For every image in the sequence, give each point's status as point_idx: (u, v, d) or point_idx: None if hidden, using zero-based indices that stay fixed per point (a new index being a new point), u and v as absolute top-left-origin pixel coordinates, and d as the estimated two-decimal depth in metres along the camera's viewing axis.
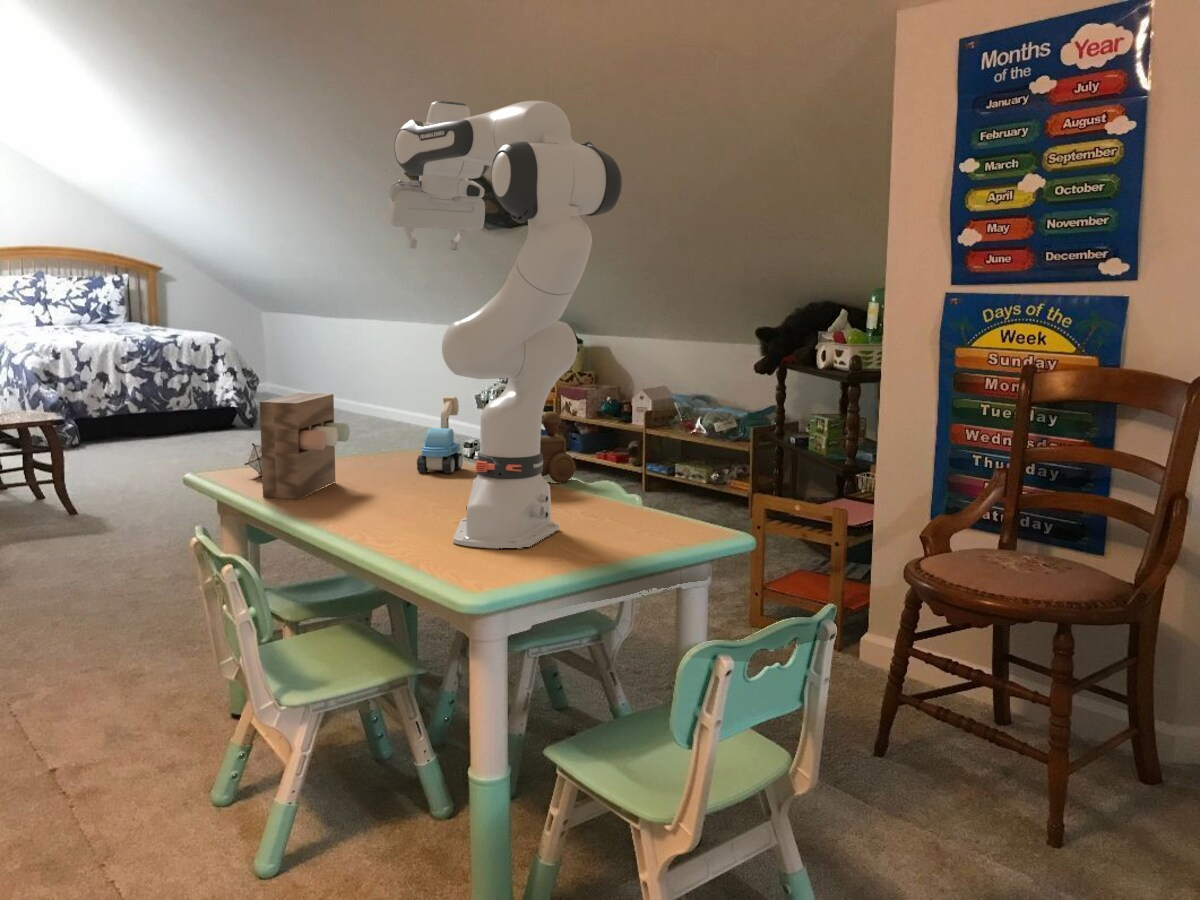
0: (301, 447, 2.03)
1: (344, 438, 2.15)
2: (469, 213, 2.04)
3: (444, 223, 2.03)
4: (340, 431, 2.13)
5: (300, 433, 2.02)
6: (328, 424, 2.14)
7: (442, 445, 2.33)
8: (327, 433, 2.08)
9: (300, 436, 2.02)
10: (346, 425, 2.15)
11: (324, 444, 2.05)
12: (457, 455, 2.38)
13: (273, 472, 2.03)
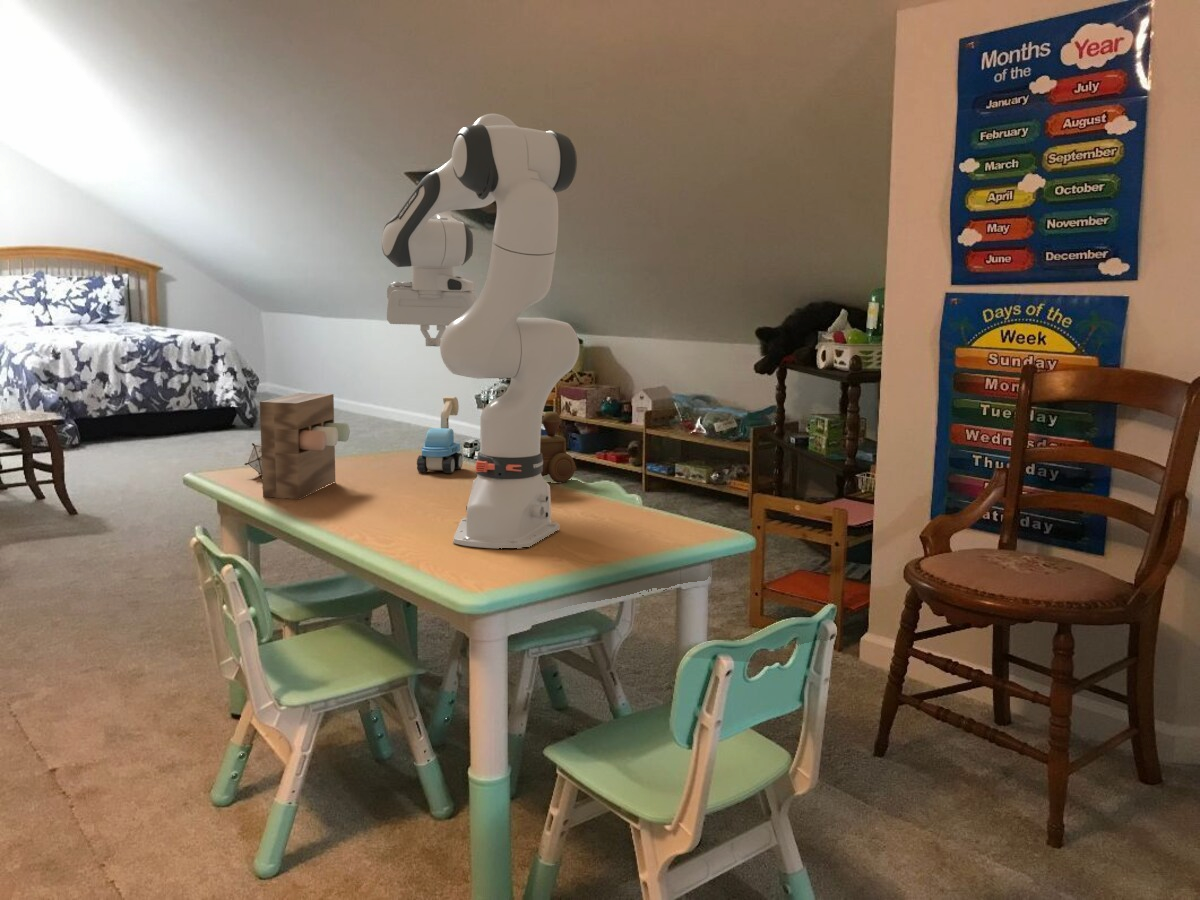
0: (301, 447, 2.03)
1: (344, 438, 2.15)
2: (458, 308, 2.11)
3: (435, 319, 2.12)
4: (340, 431, 2.13)
5: (300, 433, 2.02)
6: (328, 424, 2.14)
7: (442, 445, 2.33)
8: (327, 433, 2.08)
9: (300, 436, 2.02)
10: (346, 425, 2.15)
11: (324, 444, 2.05)
12: (457, 455, 2.38)
13: (273, 472, 2.03)
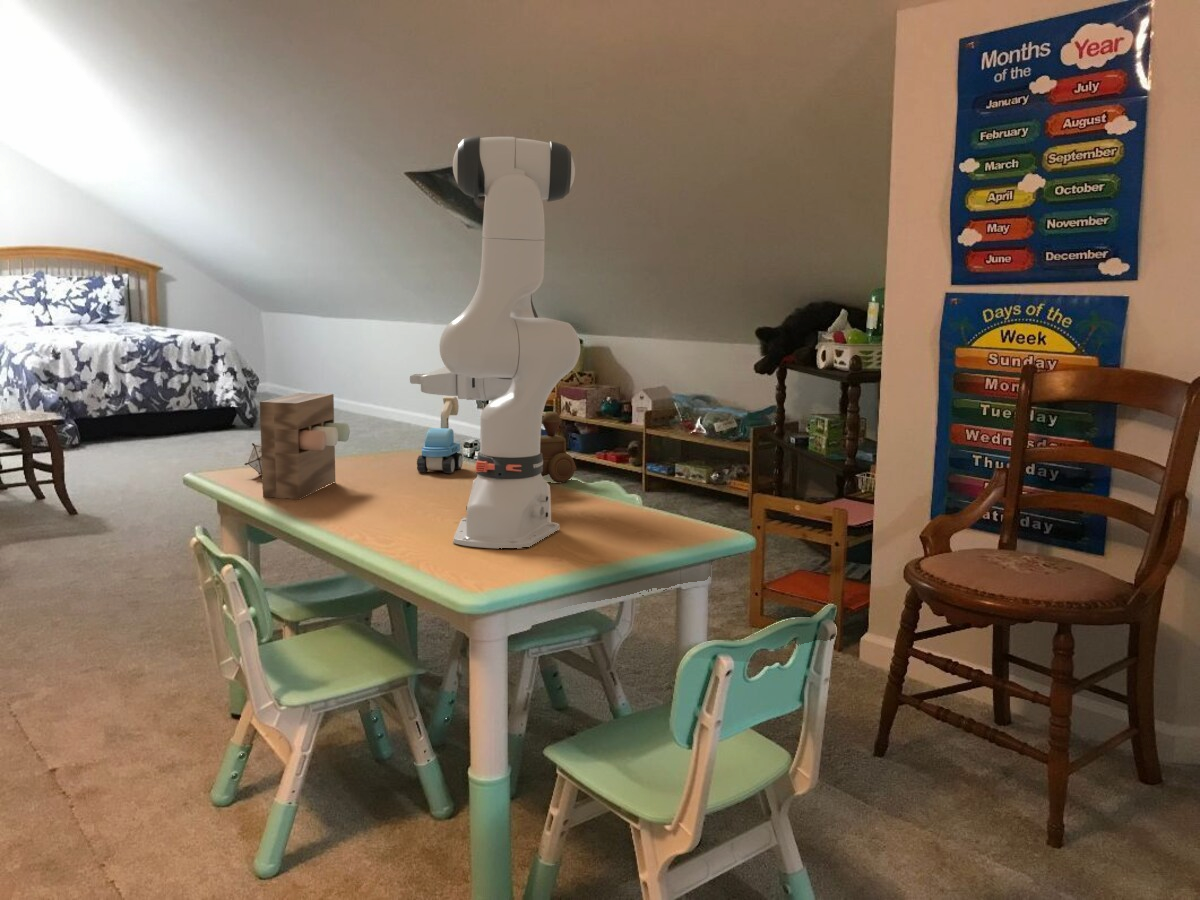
0: (301, 447, 2.03)
1: (344, 438, 2.15)
2: None
3: (437, 371, 2.10)
4: (340, 431, 2.13)
5: (300, 433, 2.02)
6: (328, 424, 2.14)
7: (442, 445, 2.33)
8: (327, 433, 2.08)
9: (300, 436, 2.02)
10: (346, 425, 2.15)
11: (324, 444, 2.05)
12: (457, 455, 2.38)
13: (273, 472, 2.03)
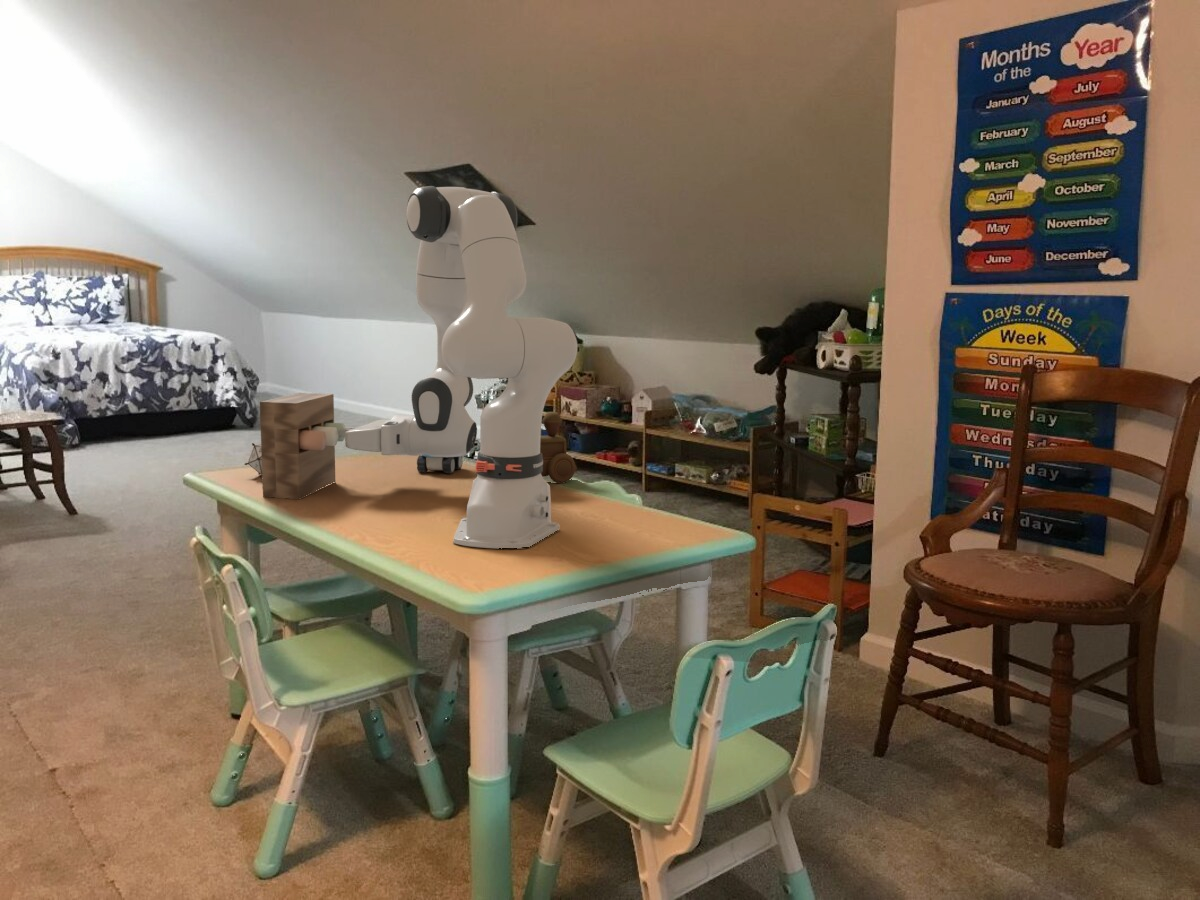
0: (301, 447, 2.03)
1: (340, 438, 2.15)
2: None
3: (366, 425, 2.13)
4: None
5: (300, 433, 2.02)
6: (324, 424, 2.15)
7: None
8: (327, 433, 2.08)
9: (300, 436, 2.02)
10: (342, 425, 2.15)
11: (324, 444, 2.05)
12: None
13: (273, 472, 2.03)
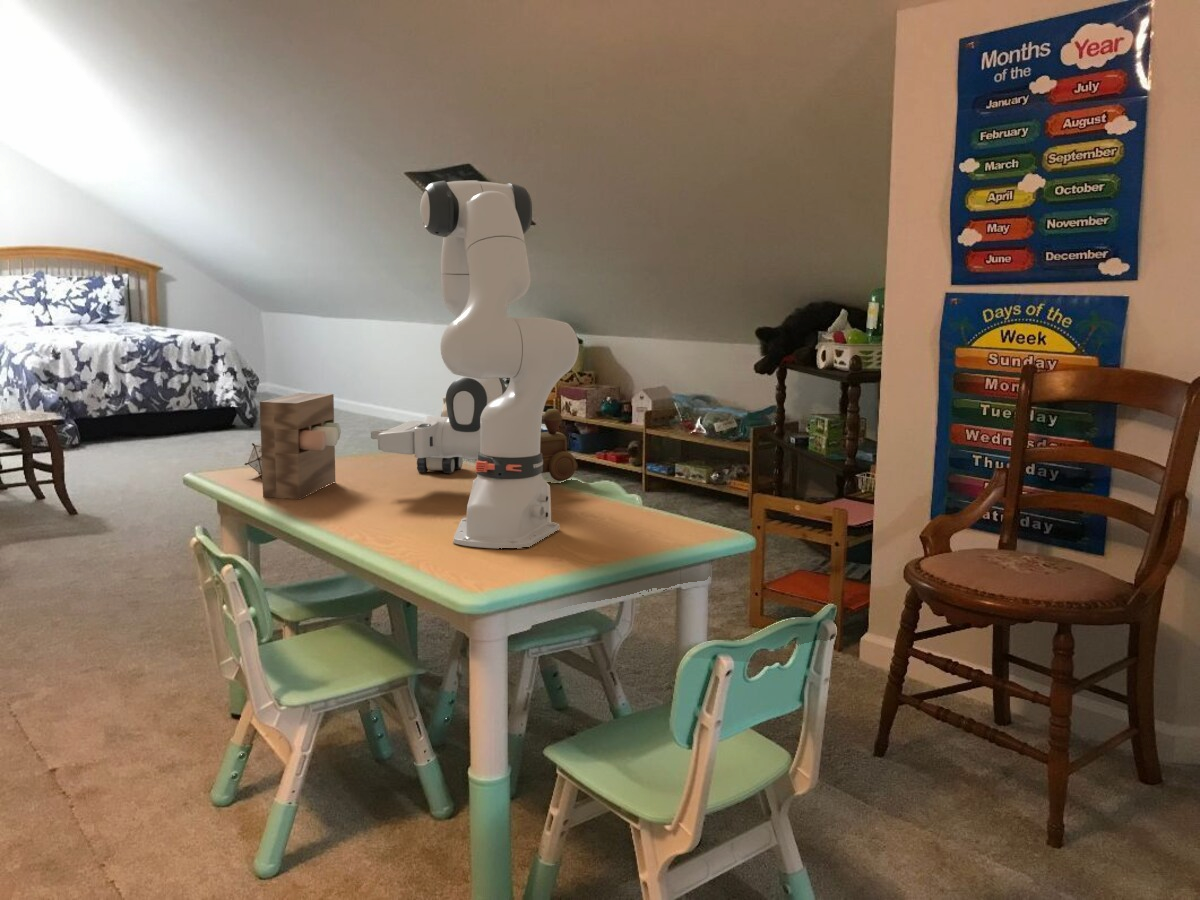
0: (301, 447, 2.03)
1: None
2: None
3: (397, 427, 2.10)
4: None
5: (300, 433, 2.02)
6: None
7: None
8: (327, 433, 2.08)
9: (300, 436, 2.02)
10: (337, 425, 2.15)
11: (324, 444, 2.05)
12: None
13: (273, 472, 2.03)
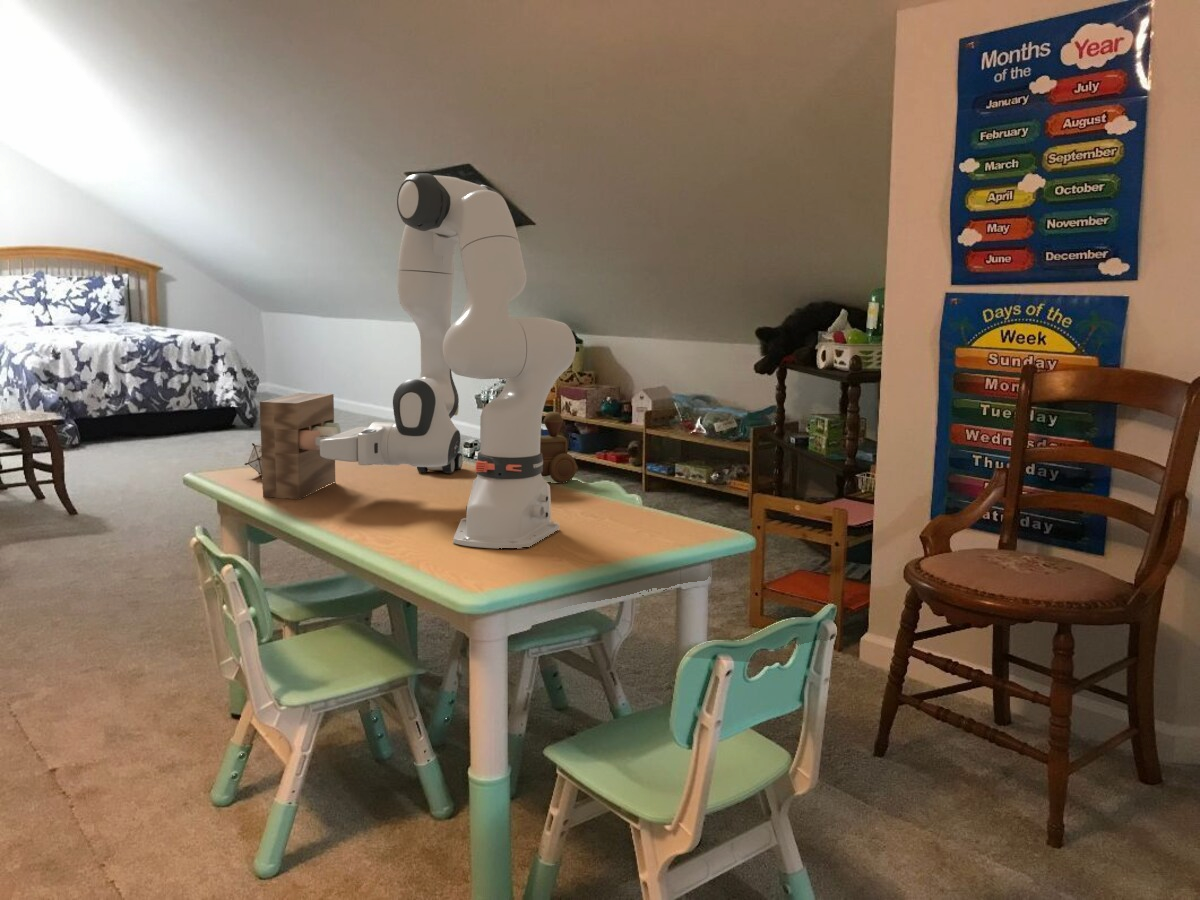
0: None
1: None
2: None
3: (342, 433, 2.01)
4: None
5: None
6: None
7: None
8: (327, 433, 2.08)
9: None
10: (337, 425, 2.15)
11: None
12: (457, 455, 2.38)
13: (273, 472, 2.03)
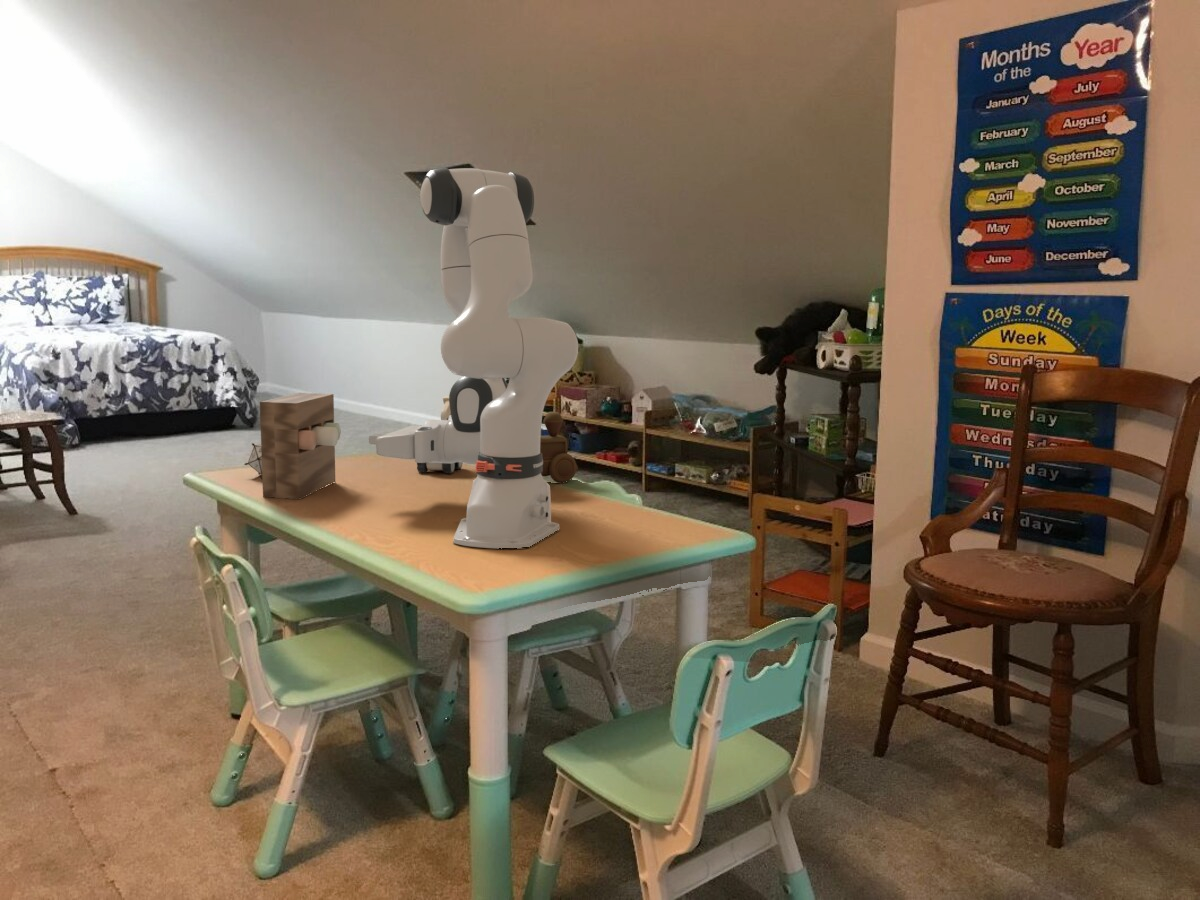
0: None
1: None
2: None
3: (397, 431, 2.00)
4: None
5: None
6: None
7: None
8: (327, 433, 2.08)
9: None
10: (337, 425, 2.15)
11: (314, 444, 2.05)
12: None
13: (273, 472, 2.03)
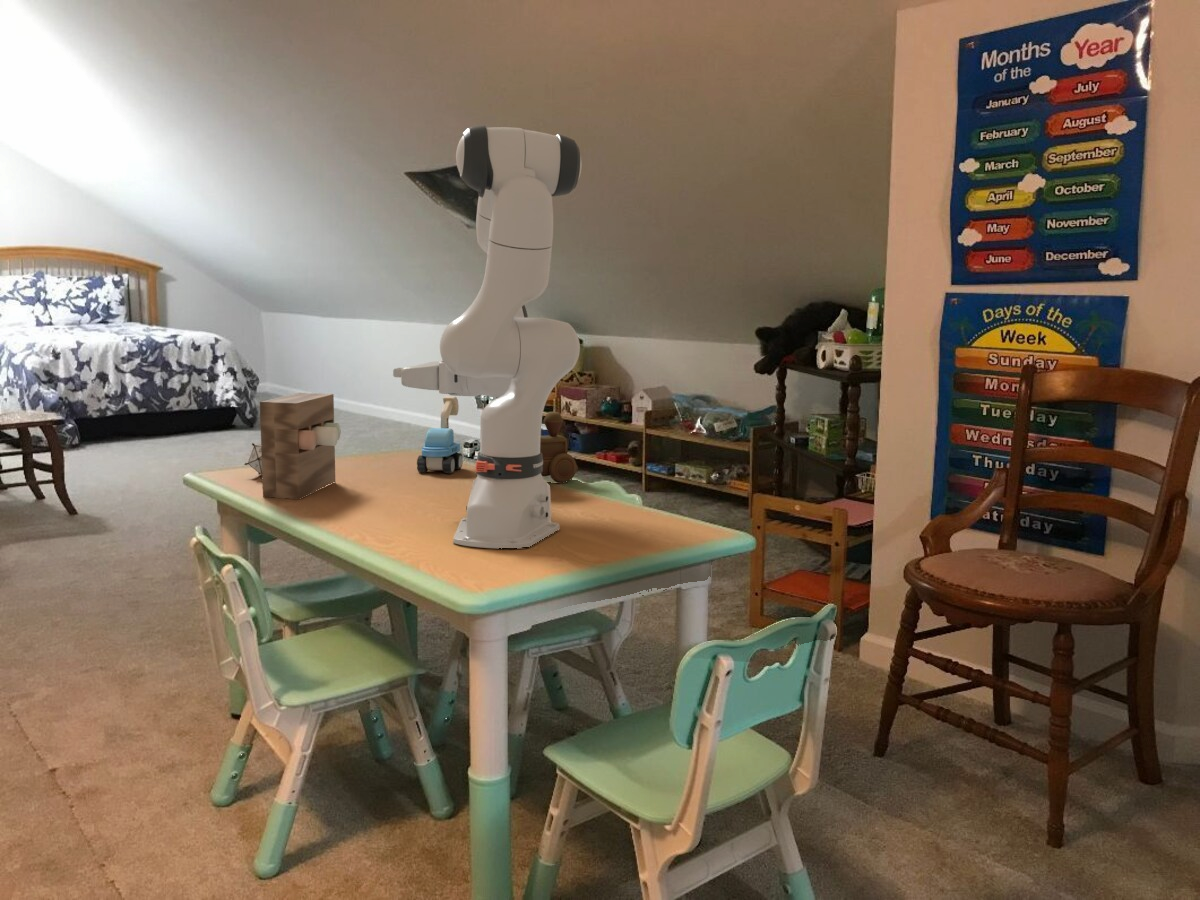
0: None
1: None
2: None
3: (421, 365, 2.05)
4: None
5: None
6: None
7: (442, 445, 2.33)
8: (327, 433, 2.08)
9: None
10: (337, 425, 2.15)
11: (314, 444, 2.05)
12: (457, 455, 2.38)
13: (273, 472, 2.03)
